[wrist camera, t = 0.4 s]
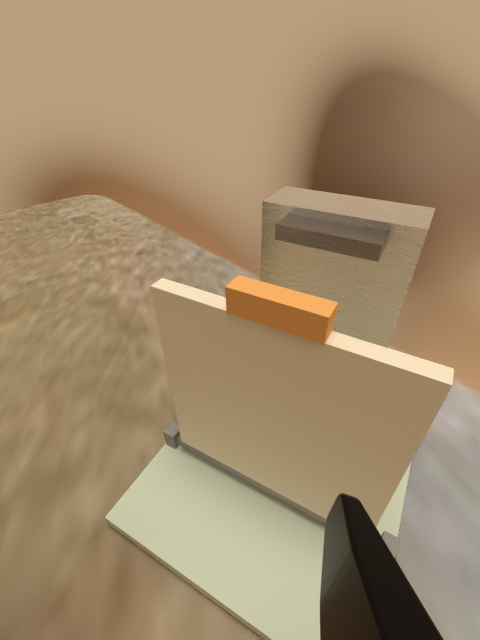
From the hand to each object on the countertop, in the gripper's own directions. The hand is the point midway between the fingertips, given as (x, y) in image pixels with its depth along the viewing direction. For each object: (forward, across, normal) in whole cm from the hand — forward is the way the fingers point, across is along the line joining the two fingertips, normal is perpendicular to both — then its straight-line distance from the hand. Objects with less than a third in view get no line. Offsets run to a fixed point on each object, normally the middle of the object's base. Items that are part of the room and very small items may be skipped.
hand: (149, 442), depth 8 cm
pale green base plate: (+12, -5, +11) cm, 18 cm away
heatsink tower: (+17, -6, +9) cm, 20 cm away
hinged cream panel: (+10, -4, +10) cm, 15 cm away
